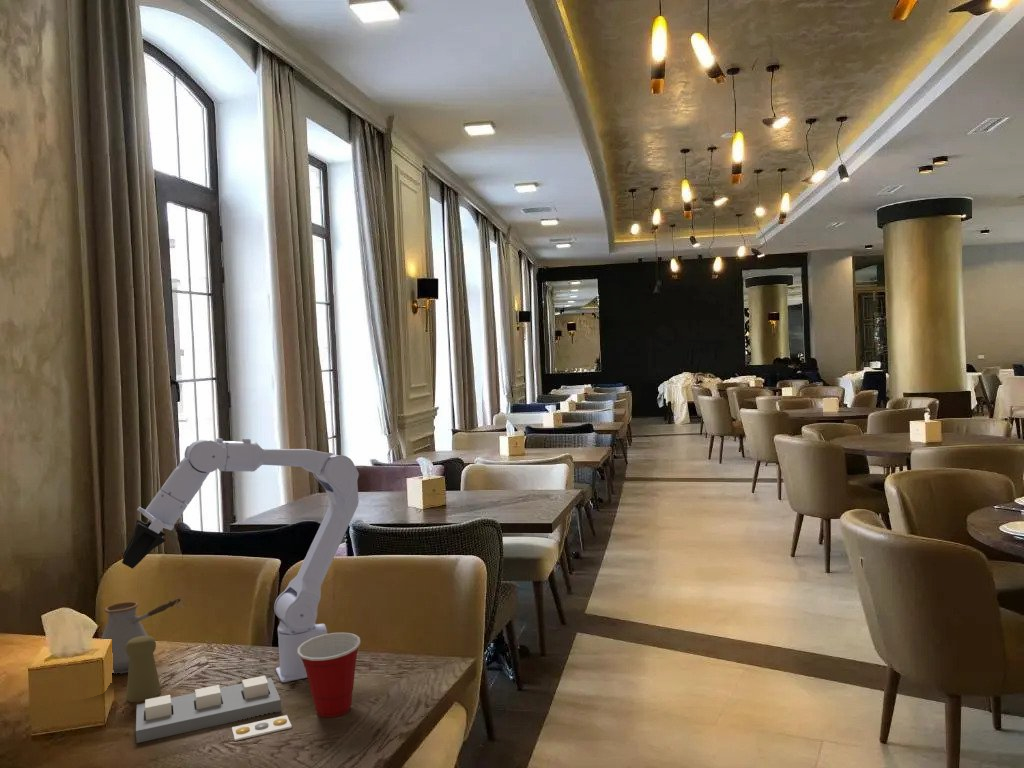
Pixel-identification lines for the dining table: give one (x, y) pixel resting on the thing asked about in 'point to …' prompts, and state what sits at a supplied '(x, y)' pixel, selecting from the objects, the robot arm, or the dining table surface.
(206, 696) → the button middle
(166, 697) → the button
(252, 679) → the button
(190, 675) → the dining table surface
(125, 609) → the coffee pot
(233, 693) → the button board
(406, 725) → the dining table surface
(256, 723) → the card
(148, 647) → the olive pepper shaker
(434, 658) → the dining table surface
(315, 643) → the plastic cup
